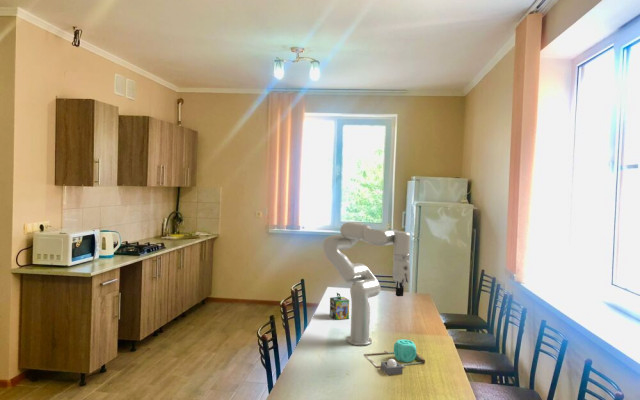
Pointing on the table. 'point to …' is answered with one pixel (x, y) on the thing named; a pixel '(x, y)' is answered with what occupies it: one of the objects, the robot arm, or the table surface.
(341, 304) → the chalk box
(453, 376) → the table surface
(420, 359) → the lane
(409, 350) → the decorative dice
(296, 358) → the table surface
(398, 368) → the collar
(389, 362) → the white ball
